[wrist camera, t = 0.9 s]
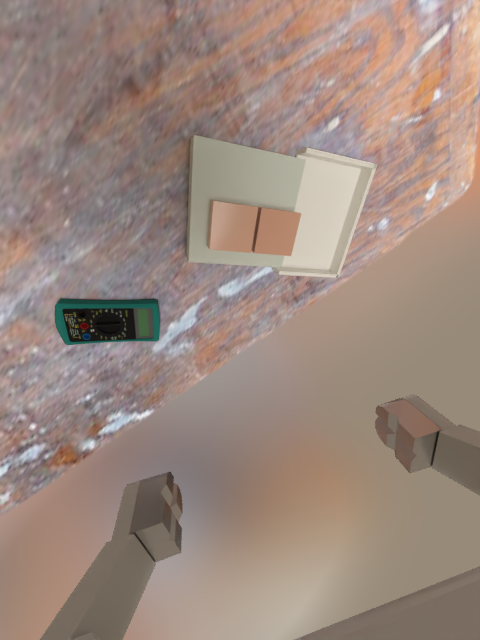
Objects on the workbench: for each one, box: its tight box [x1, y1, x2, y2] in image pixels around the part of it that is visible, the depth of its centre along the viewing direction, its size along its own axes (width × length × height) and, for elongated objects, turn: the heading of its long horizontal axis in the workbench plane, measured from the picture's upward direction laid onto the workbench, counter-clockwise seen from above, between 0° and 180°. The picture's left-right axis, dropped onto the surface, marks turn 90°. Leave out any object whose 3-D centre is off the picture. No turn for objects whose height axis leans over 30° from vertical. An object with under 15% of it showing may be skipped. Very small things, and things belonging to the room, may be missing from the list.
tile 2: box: [207, 200, 258, 253], centre depth 33 cm, size 6×6×2 cm
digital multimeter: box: [55, 299, 160, 345], centre depth 39 cm, size 7×15×3 cm, turn 82°
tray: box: [272, 148, 377, 278], centre depth 40 cm, size 18×12×3 cm
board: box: [186, 135, 306, 268], centre depth 35 cm, size 15×15×4 cm
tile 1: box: [251, 206, 301, 256], centre depth 35 cm, size 6×6×2 cm
